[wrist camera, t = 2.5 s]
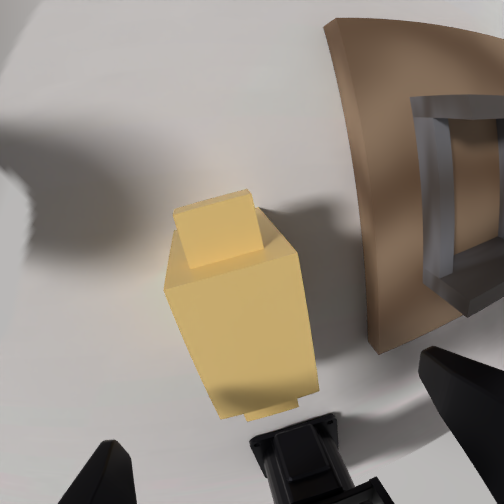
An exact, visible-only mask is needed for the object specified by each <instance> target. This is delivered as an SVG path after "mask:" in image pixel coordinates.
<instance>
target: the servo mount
mask: <svg viewBox="0 0 504 504" xmlns="http://www.w3.org/2000/svg"><path fill="white" fill-rule="evenodd" d="M323 28H324V31H325V35H326V38H327V42H328V46H329V50H330V54H331V58H332V62H333V66H334V70H335V74H336V78H337V83H338V87H339V92H340V97H341V101H342V106H343V111H344V116H345V121H346V127H347V132H348V138H349V143H350V149H351V155H352V162H353V168H354V175H355V182H356V189H357V197H358V205H359V213H360V222H361V232H362V242H363V253H364V266H365V281H366V299H367V324H368V342H369V343H370V344H371V346H372V347H373V348H374V350H375V351H376V352H377V353H378V355H380V354H382V353H384V352H387V351H389V350H391V349H394V348H396V347H398V346H400V345H403V344H405V343H407V342H409V341H412V340H414V339H416V338H418V337H420V336H422V335H424V334H426V333H429V332H431V331H433V330H435V329H437V328H439V327H441V326H443V325H445V324H447V323H449V322H451V321H452V320H454V319H456V318H458V317H460V316H462V315H464V316H466V317H467V318H468V317H470V316H471V315H473V314H475V313H477V312H478V311H480V310H482V309H484V308H485V307H487V306H489V305H490V304H492V303H494V302H495V301H497V300H499V299H500V298H502V297H504V39H501V38H497V37H493V36H490V35H485V34H481V33H477V32H473V31H468V30H463V29H458V28H453V27H447V26H441V25H434V24H427V23H420V22H411V21H401V20H389V19H372V18H335V19H334V20H332V21H331V22H330V23H328V24H327V25H325V26H324V27H323Z"/></svg>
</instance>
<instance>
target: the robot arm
mask: <svg viewBox="0 0 504 504" xmlns="http://www.w3.org/2000/svg"><path fill="white" fill-rule="evenodd" d="M418 373H419V377H420V379H421V380H422V382H423V384H424V386H425V388H426V390H427V392H428V393H429V395H430V397H431V399H432V401H433V403H434V405H435V407H436V408H437V410H438V412H439V414H440V416H441V417H442V419H443V420H444V422H445V423H446V425H447V426H448V427H449V429H450V430H451V432H452V433H453V435H454V436H455V438H456V439H457V441H458V442H459V444H460V445H461V447H462V448H463V450H464V451H465V453H466V454H467V456H468V457H469V459H470V461H471V462H472V463H473V465H474V467H475V468H476V470H477V471H478V473H479V475H480V476H481V478H482V479H483V481H484V483H485V484H486V486H487V487H488V489H489V491H490V492H491V494H492V496H493V497H494V499H495V500H496V502H497V504H504V371H503V370H500V369H497V368H494V367H491V366H489V365H486V364H483V363H480V362H477V361H474V360H472V359H469V358H466V357H463V356H460V355H458V354H455V353H452V352H449V351H447V350H444V349H441V348H438V347H436V346H431V347H429V348H427V349H425V350H423V351H422V352H421V354H420V362H419V369H418ZM249 443H250V447H251V449H252V451H253V453H254V455H255V458H256V460H257V462H258V464H259V466H260V468H261V470H262V472H263V474H264V476H265V478H268V482H269V486H270V490H271V493H272V497H273V501H274V504H394V502H393V501H392V499H391V498H390V496H389V495H388V493H387V492H386V490H385V489H384V487H383V485H382V484H381V482H380V481H379V479H378V478H377V477H374V478H372V479H369V481H368V482H365V483H363V484H361V485H359V486H356V487H355V485H354V483H353V481H352V479H351V477H350V475H349V473H348V470H347V468H346V466H345V464H344V462H343V460H342V457H341V455H340V453H339V451H338V433H337V420H336V418H335V416H334V415H333V414H330V415H326V416H323V417H321V418H318V419H315V420H312V421H309V422H306V423H303V424H300V425H296V426H293V427H290V428H287V429H283V430H280V431H277V432H273V433H269V434H266V435H262V436H258V437H255V438H252V439H251V440H250V441H249ZM58 504H137V500H136V493H135V486H134V478H133V470H132V461H131V458H130V456H129V454H128V453H127V452H126V450H125V449H124V448H123V447H122V446H121V445H120V444H119V442H118V441H116V440H105V441H102V442H101V443H100V445H99V446H98V448H97V449H96V450H95V452H94V453H93V455H92V456H91V457H90V459H89V460H88V462H87V463H86V464H85V466H84V467H83V469H82V470H81V471H80V473H79V474H78V476H77V477H76V478H75V480H74V481H73V483H72V484H71V485H70V487H69V488H68V490H67V491H66V492H65V494H64V495H63V497H62V498H61V500H60V501H59V502H58Z"/></svg>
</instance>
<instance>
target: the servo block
mask: <svg viewBox="0 0 504 504" xmlns="http://www.w3.org/2000/svg"><path fill="white" fill-rule="evenodd" d="M173 217H174V221H175V224H176V227H177V230H174V233H173V238H172V244H171V249H170V255H169V260H168V266H167V272H166V278H165V284H164V293H165V295H166V298H167V300H168V303H169V305H170V308H171V310H172V313H173V315H174V318H175V320H176V323H177V325H178V328H179V330H180V332H181V335H182V337H183V339H184V342H185V344H186V346H187V349H188V351H189V353H190V355H191V358H192V360H193V362H194V364H195V367H196V369H197V371H198V373H199V375H200V378H201V380H202V382H203V384H204V386H205V388H206V390H207V393H208V395H209V397H210V399H211V401H212V403H213V405H214V407H215V409H216V411H217V413H218V415H219V417H220V419H225V418H229V417H233V416H237V415H241V414H244V416H245V418H246V421H247V422H248V421H252V420H256V419H260V418H263V417H267V416H270V415H274V414H277V413H281V412H284V411H287V410H291V409H294V408H297V407H299V405H298V401H297V398H300V397H303V396H306V395H309V394H312V393H315V392H318V391H319V384H318V376H317V369H316V362H315V355H314V349H313V342H312V335H311V329H310V323H309V316H308V310H307V304H306V298H305V292H304V286H303V280H302V275H301V269H300V263H299V258H298V253H297V252H296V250H295V249H294V248H293V247H292V246H291V244H290V243H289V242H288V241H287V240H286V239H285V237H284V236H283V235H282V234H281V233H280V232H279V230H278V229H277V228H276V227H275V226H274V225H273V223H272V222H271V221H270V220H269V219H268V218H267V217H266V215H265V214H264V213H263V212H262V211H261V210H260V208H259V207H257V208H255V207H254V203H253V199H252V194H251V193H250V192H249V191H248V189H245V190H241V191H237V192H234V193H230V194H226V195H222V196H219V197H215V198H211V199H208V200H204V201H200V202H197V203H193V204H190V205H186V206H183V207H179V208H176V209H174V212H173Z"/></svg>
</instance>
